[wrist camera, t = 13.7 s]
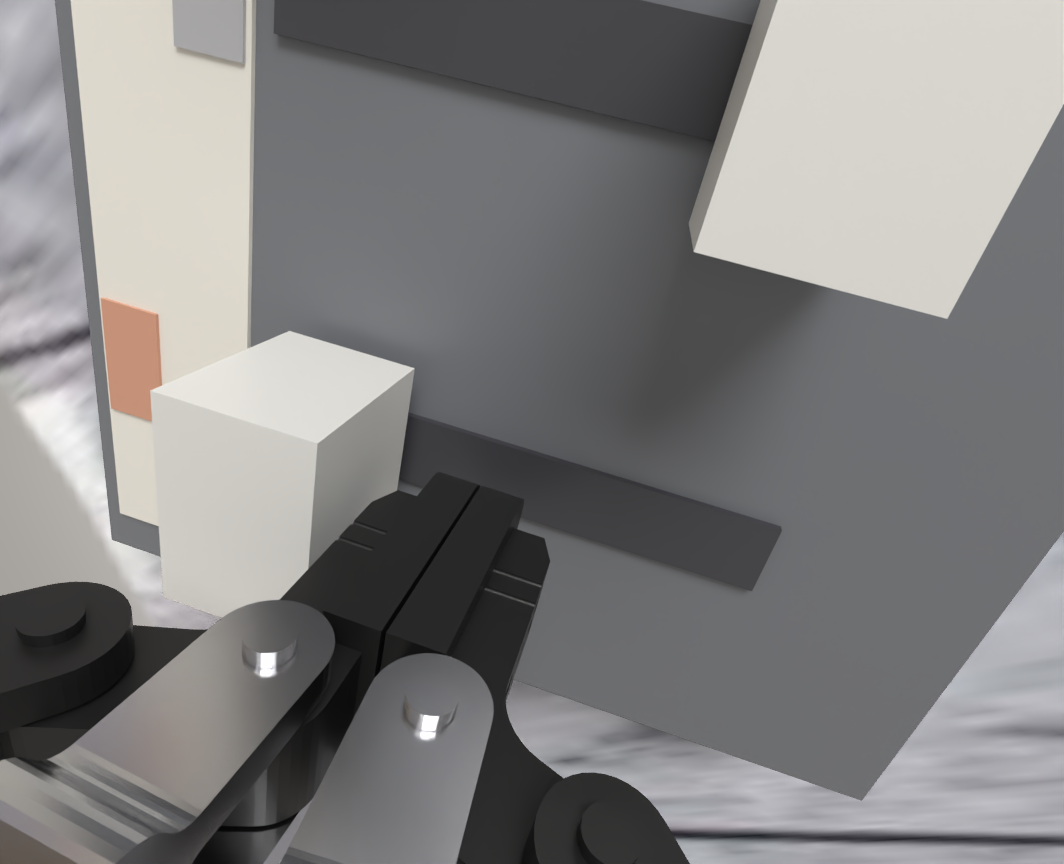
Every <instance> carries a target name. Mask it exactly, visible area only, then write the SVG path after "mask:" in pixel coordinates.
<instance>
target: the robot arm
mask: <svg viewBox="0 0 1064 864" xmlns="http://www.w3.org/2000/svg"><path fill="white" fill-rule="evenodd" d="M523 505H524V499H522V498H519V497H516V496H513V495H510V494H507V493H504V492H501V491H498V490H494V489H491V488H488V487H485V486H480V485H478V484H475V483H472V482H469V481H466V480H463V479H460V478H457V477H454V476H451V475H448V474H445V473H441V472H437V473H436V474H435V475H434V476H433V477H432V478H431V480H430V481H429V482H428V483H427V484H426V486H425V487H424V488H423V489H422V490H421V492H420V493H419V494H418V495H417V496H415V495H412V494H409V493H405V492H402V491H399V490H397V491H395V492H393V493H390V494H388V495H386V496H384V497H381V498H379V499H377V500H375V501H372V502H371V503H370V504H369V505H368V506H367V507H366V508H365V509H364V510H363V512H362V513H361V514H360V515H359V516H358V517H357V518H356V519H355V520H354V523H353V525H352V524H350V525H349V526H348V527H347V529H346V530H345V531H344V532H343V533H342V534H341V535H340V537H339V539H338V540H335V541H334V542H333V543H332V544H331V545H330V547H329V548H328V549H327V550H326V551H325V552H324V553H323V554H322V555H321V556H320V557H319V558H318V559H317V560H316V561H315V562H314V564H313V565H312V566H311V567H310V568H309V569H308V570H307V571H306V572H305V573H304V574H303V575H302V576H301V577H300V578H299V579H298V581H297V582H296V583H295V584H294V585H293V586H292V587H291V588H290V589H289V590H288V591H287V592H286V593H285V594H284V595H283V596H282V597H281V599H280V600H267V601H261V602H256V603H252V604H248V605H246V606H243V607H241V608H238V609H236V610H234V611H232V612H230V613H229V614H227V615H225V616H224V617H223V618H221V619H220V620H219V621H217V622H216V623H215V624H214V625H213V626H212V627H210V628H209V629H208V630H190V629H177V628H163V627H149V626H136V625H133V622H132V611H131V606H130V604H129V602H128V600H127V599H126V598H125V596H124V595H123V594H121V593H120V592H119V591H117V590H115V589H113V588H111V587H108V586H105V585H102V584H97V583H90V582H67V583H58V584H52V585H47V586H42V587H38V588H33V589H29V590H25V591H20V592H16V593H11V594H7V595H2V596H0V864H690V863H689V862H688V860H687V858H686V857H685V855H684V853H683V851H682V850H681V848H680V846H679V845H678V843H677V841H676V839H675V838H674V836H673V834H672V833H671V831H670V829H669V827H668V826H667V824H666V822H665V821H664V819H663V818H662V816H661V815H660V813H659V812H658V810H657V809H656V808H655V807H654V806H653V804H652V803H651V802H650V801H649V800H648V799H647V798H646V797H645V796H644V795H643V794H641V793H640V792H639V791H638V790H637V789H635V788H634V787H632V786H631V785H629V784H628V783H626V782H624V781H622V780H620V779H618V778H615V777H612V776H609V775H606V774H599V773H580V774H575V775H572V776H569V777H567V778H565V779H563V778H562V777H561V776H560V775H558V774H557V773H556V772H554V771H553V770H552V769H551V768H549V767H548V766H547V765H545V764H544V763H543V762H541V761H540V760H539V759H538V758H537V757H535V756H534V755H533V754H532V753H531V752H530V751H529V750H528V749H527V748H526V747H525V746H524V745H523V743H522V742H521V741H520V739H519V738H518V736H517V735H516V733H515V732H514V730H513V728H512V725H511V723H510V721H509V718H508V714H507V710H506V700H507V697H508V694H509V691H510V688H511V685H512V682H513V679H514V676H515V673H516V670H517V667H518V664H519V661H520V658H521V655H522V652H523V649H524V646H525V644H526V641H527V638H528V635H529V632H530V628H531V625H532V622H533V618H534V615H535V611H536V608H537V605H538V601H539V598H540V595H541V591H542V588H543V584H544V581H545V578H546V574H547V571H548V568H549V564H550V558H549V554H548V550H547V546H546V542H545V538H542V537H539V536H536V535H533V534H530V533H527V532H524V531H521V530H518V525H519V521H520V518H521V514H522V510H523ZM280 861H281V862H280Z"/></svg>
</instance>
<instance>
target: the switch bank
mask: <svg viewBox="0 0 1064 864" xmlns="http://www.w3.org/2000/svg"><path fill="white" fill-rule="evenodd" d="M760 1H761V0H55V6H56V15H57V25H58V34H59V44H60V53H61V63H62V72H63V82H64V91H65V100H66V110H67V119H68V129H69V138H70V148H71V157H72V167H73V176H74V185H75V195H76V204H77V214H78V223H79V233H80V242H81V252H82V261H83V270H84V280H85V289H86V299H87V308H88V318H89V327H90V337H91V346H92V355H93V365H94V374H95V384H96V393H97V403H98V412H99V422H100V431H101V440H102V450H103V459H104V469H105V478H106V488H107V497H108V507H109V516H110V525H111V535H112V540H114V541H117V542H120V543H123V544H126V545H129V546H132V547H135V548H137V549H140V550H143V551H146V552H149V553H152V554H155V555H157V556H160V557H161V555H160V539H159V523H158V507H157V491H156V475H155V459H154V443H153V428H152V412H151V396H150V390H153V389H155V388H157V387H160V386H162V385H164V384H167V383H169V382H171V381H174V380H176V379H178V378H181V377H183V376H185V375H188V374H190V373H192V372H195V371H197V370H199V369H202V368H204V367H206V366H209V365H211V364H213V363H216V362H218V361H220V360H223V359H225V358H227V357H230V356H232V355H234V354H237V353H239V352H241V351H244V350H246V349H248V348H251V347H253V346H255V345H258V344H260V343H262V342H265V341H267V340H269V339H272V338H274V337H276V336H279V335H281V334H283V333H286V332H288V331H292V332H295V333H298V334H302V335H305V336H308V337H312V338H315V339H318V340H322V341H325V342H328V343H332V344H335V345H338V346H342V347H345V348H349V349H352V350H355V351H359V352H362V353H365V354H369V355H372V356H375V357H379V358H382V359H385V360H389V361H392V362H395V363H399V364H402V365H406V366H409V367H412V368H415V370H414V377H413V384H412V391H411V398H410V405H409V412H408V418H407V425H406V432H405V439H404V446H403V453H402V460H401V467H400V473H399V480H398V487H397V490H399V491H402V492H405V493H409V494H412V495H415V496H417V495H418V494H419V493H420V492H421V490H422V489H423V488H424V487H425V486H426V484H427V483H428V482H429V481H430V480H431V478H432V477H433V476H434V475H435V474H436V473H437V472H441V473H445V474H448V475H451V476H454V477H457V478H460V479H463V480H466V481H469V482H472V483H475V484H478V485H480V486H485V487H488V488H491V489H494V490H498V491H501V492H504V493H507V494H510V495H513V496H516V497H519V498H522V499H524V505H523V510H522V514H521V518H520V521H519V525H518V530H521V531H524V532H527V533H530V534H533V535H536V536H539V537H542V538H545V542H546V546H547V550H548V554H549V558H550V564H549V568H548V571H547V574H546V578H545V581H544V584H543V588H542V591H541V595H540V598H539V601H538V605H537V608H536V611H535V615H534V618H533V622H532V625H531V628H530V632H529V635H528V638H527V641H526V644H525V646H524V649H523V652H522V655H521V658H520V661H519V664H518V667H517V670H516V673H515V676H514V680H517V681H520V682H522V683H525V684H528V685H531V686H534V687H537V688H540V689H543V690H545V691H548V692H551V693H554V694H557V695H560V696H563V697H566V698H568V699H571V700H574V701H577V702H580V703H583V704H586V705H589V706H591V707H594V708H597V709H600V710H603V711H606V712H609V713H611V714H614V715H617V716H620V717H623V718H626V719H629V720H632V721H634V722H637V723H640V724H643V725H646V726H649V727H652V728H655V729H657V730H660V731H663V732H666V733H669V734H672V735H675V736H678V737H680V738H683V739H686V740H689V741H692V742H695V743H698V744H701V745H703V746H706V747H709V748H712V749H715V750H718V751H721V752H724V753H726V754H729V755H732V756H735V757H738V758H741V759H744V760H747V761H749V762H752V763H755V764H758V765H761V766H764V767H767V768H770V769H772V770H775V771H778V772H781V773H784V774H787V775H790V776H793V777H795V778H798V779H801V780H804V781H807V782H810V783H813V784H815V785H818V786H821V787H824V788H827V789H830V790H833V791H836V792H838V793H841V794H844V795H847V796H850V797H853V798H856V799H859V800H861V801H862V799H863V798H864V797H865V795H866V794H867V793H868V791H869V790H870V789H871V787H872V786H873V785H874V783H875V782H876V781H877V779H878V778H879V777H880V775H881V774H882V773H883V771H884V770H885V769H886V767H887V766H888V765H889V763H890V762H891V761H892V759H893V758H894V757H895V755H896V754H897V753H898V751H899V750H900V749H901V747H902V746H903V745H904V743H905V742H906V741H907V739H908V738H909V737H910V735H911V734H912V733H913V731H914V730H915V729H916V727H917V726H918V725H919V723H920V722H921V721H922V719H923V718H924V717H925V715H926V714H927V713H928V711H929V710H930V709H931V707H932V706H933V705H934V703H935V702H936V701H937V699H938V698H939V697H940V695H941V694H942V693H943V691H944V690H945V689H946V687H947V686H948V685H949V683H950V682H951V681H952V679H953V678H954V677H955V675H956V674H957V673H958V671H959V670H960V669H961V667H962V666H963V665H964V663H965V662H966V661H967V659H968V658H969V657H970V655H971V654H972V653H973V651H974V650H975V649H976V647H977V646H978V645H979V643H980V642H981V641H982V639H983V638H984V637H985V635H986V634H987V633H988V631H989V630H990V629H991V627H992V626H993V625H994V623H995V622H996V621H997V619H998V618H999V617H1000V615H1001V614H1002V613H1003V611H1004V610H1005V609H1006V607H1007V606H1008V605H1009V603H1010V602H1011V601H1012V599H1013V598H1014V597H1015V595H1016V594H1017V593H1018V591H1019V590H1020V589H1021V587H1022V586H1023V585H1024V583H1025V582H1026V581H1027V579H1028V578H1029V577H1030V575H1031V574H1032V573H1033V571H1034V570H1035V569H1036V567H1037V566H1038V565H1039V563H1040V562H1041V561H1042V559H1043V558H1044V557H1045V555H1046V554H1047V553H1048V551H1049V550H1050V549H1051V547H1052V546H1053V545H1054V543H1055V542H1056V541H1057V539H1058V538H1059V537H1060V535H1061V534H1062V533H1063V531H1064V104H1063V106H1062V108H1061V110H1060V112H1059V114H1058V115H1057V117H1056V119H1055V121H1054V123H1053V125H1052V127H1051V128H1050V130H1049V132H1048V134H1047V136H1046V138H1045V139H1044V141H1043V143H1042V145H1041V147H1040V149H1039V151H1038V152H1037V154H1036V156H1035V158H1034V160H1033V162H1032V163H1031V165H1030V167H1029V169H1028V171H1027V173H1026V175H1025V176H1024V178H1023V180H1022V182H1021V184H1020V186H1019V187H1018V189H1017V191H1016V193H1015V195H1014V197H1013V199H1012V200H1011V202H1010V204H1009V206H1008V208H1007V210H1006V211H1005V213H1004V215H1003V217H1002V219H1001V221H1000V223H999V224H998V226H997V228H996V230H995V232H994V234H993V235H992V237H991V239H990V241H989V243H988V245H987V247H986V248H985V250H984V252H983V254H982V256H981V258H980V259H979V261H978V263H977V265H976V267H975V269H974V271H973V272H972V274H971V276H970V278H969V280H968V282H967V283H966V285H965V287H964V289H963V291H962V293H961V295H960V296H959V298H958V300H957V302H956V304H955V306H954V307H953V309H952V311H951V313H950V315H949V317H948V319H945V318H942V317H938V316H934V315H930V314H927V313H923V312H919V311H915V310H911V309H908V308H904V307H900V306H896V305H892V304H889V303H885V302H881V301H877V300H874V299H870V298H866V297H862V296H858V295H855V294H851V293H847V292H843V291H839V290H836V289H832V288H828V287H824V286H821V285H817V284H813V283H809V282H805V281H802V280H798V279H794V278H790V277H786V276H783V275H779V274H775V273H771V272H768V271H764V270H760V269H756V268H752V267H749V266H745V265H741V264H737V263H733V262H730V261H726V260H722V259H718V258H715V257H711V256H707V255H703V254H699V253H696V252H694V251H693V246H692V240H691V234H690V228H689V220H690V217H691V214H692V211H693V208H694V205H695V202H696V199H697V196H698V193H699V189H700V186H701V183H702V180H703V177H704V174H705V171H706V168H707V165H708V162H709V159H710V155H711V152H712V149H713V146H714V143H715V140H716V137H717V134H718V131H719V128H720V124H721V121H722V118H723V115H724V112H725V109H726V106H727V103H728V100H729V97H730V94H731V90H732V87H733V84H734V81H735V78H736V75H737V72H738V69H739V66H740V63H741V60H742V56H743V53H744V50H745V47H746V44H747V41H748V38H749V35H750V32H751V29H752V25H753V22H754V19H755V16H756V13H757V10H758V7H759V4H760Z"/></svg>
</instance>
